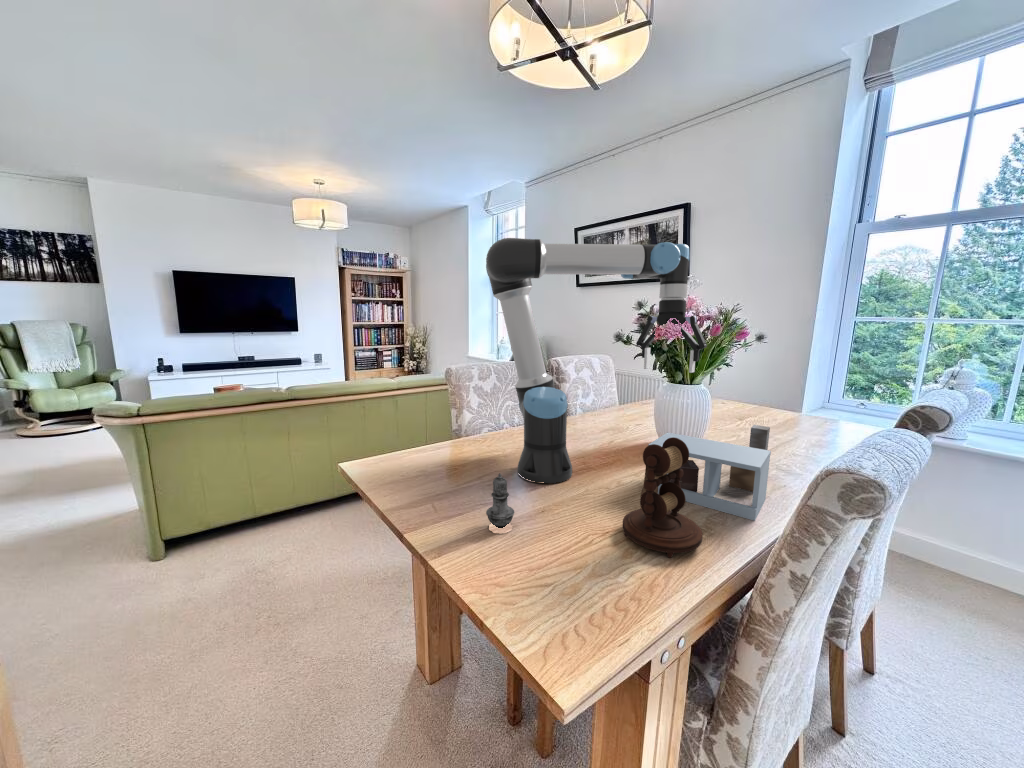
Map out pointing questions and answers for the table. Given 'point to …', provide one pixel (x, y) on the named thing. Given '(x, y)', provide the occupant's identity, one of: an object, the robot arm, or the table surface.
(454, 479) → the table surface
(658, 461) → the thread spool stand
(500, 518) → the salt shaker
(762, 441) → the walnut block
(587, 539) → the table surface
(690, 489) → the box
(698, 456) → the shelf
